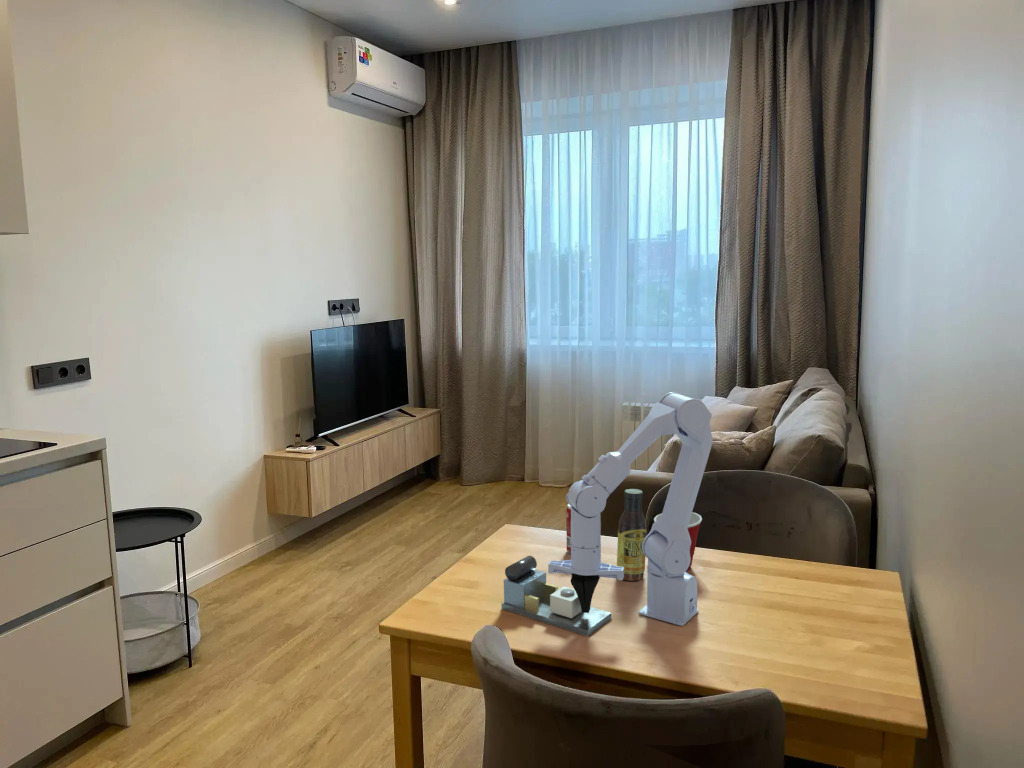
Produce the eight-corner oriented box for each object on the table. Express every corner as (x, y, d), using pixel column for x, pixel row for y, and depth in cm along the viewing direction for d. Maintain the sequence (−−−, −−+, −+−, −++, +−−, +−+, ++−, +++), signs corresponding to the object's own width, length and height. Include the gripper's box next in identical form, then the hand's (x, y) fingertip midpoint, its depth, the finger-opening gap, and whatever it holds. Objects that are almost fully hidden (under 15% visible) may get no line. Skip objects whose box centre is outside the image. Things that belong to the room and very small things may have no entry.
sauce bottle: (623, 584, 164) (623, 496, 162) (612, 573, 170) (612, 488, 168) (650, 580, 166) (651, 493, 163) (638, 569, 172) (639, 485, 169)
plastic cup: (647, 559, 178) (648, 510, 176) (691, 556, 179) (692, 508, 178) (661, 577, 168) (661, 526, 166) (708, 574, 169) (709, 523, 167)
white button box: (585, 608, 149) (585, 590, 149) (571, 618, 145) (571, 599, 145) (564, 602, 152) (563, 584, 152) (550, 611, 148) (550, 593, 148)
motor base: (611, 618, 148) (611, 574, 147) (587, 636, 141) (587, 590, 140) (527, 593, 161) (526, 552, 159) (501, 608, 153) (500, 566, 152)
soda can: (587, 548, 186) (587, 501, 184) (588, 556, 181) (587, 508, 179) (566, 547, 187) (566, 501, 185) (566, 555, 182) (565, 507, 180)
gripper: (626, 539, 146) (626, 605, 148) (553, 533, 150) (554, 598, 152) (621, 552, 139) (621, 621, 141) (545, 546, 143) (546, 613, 145)
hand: (586, 610), depth 146 cm, fingers closed
